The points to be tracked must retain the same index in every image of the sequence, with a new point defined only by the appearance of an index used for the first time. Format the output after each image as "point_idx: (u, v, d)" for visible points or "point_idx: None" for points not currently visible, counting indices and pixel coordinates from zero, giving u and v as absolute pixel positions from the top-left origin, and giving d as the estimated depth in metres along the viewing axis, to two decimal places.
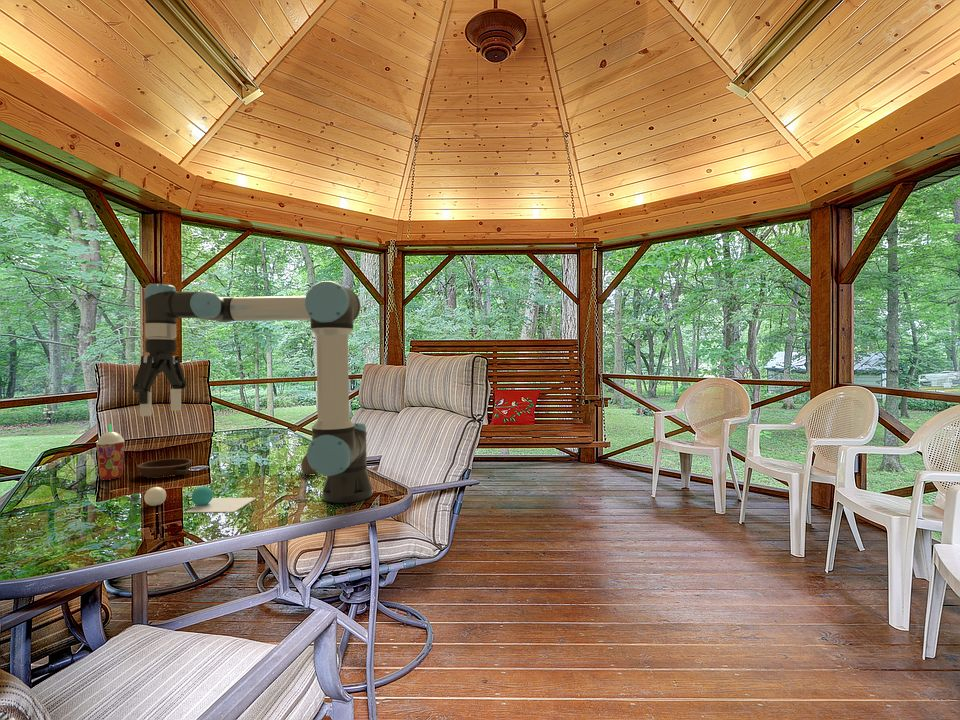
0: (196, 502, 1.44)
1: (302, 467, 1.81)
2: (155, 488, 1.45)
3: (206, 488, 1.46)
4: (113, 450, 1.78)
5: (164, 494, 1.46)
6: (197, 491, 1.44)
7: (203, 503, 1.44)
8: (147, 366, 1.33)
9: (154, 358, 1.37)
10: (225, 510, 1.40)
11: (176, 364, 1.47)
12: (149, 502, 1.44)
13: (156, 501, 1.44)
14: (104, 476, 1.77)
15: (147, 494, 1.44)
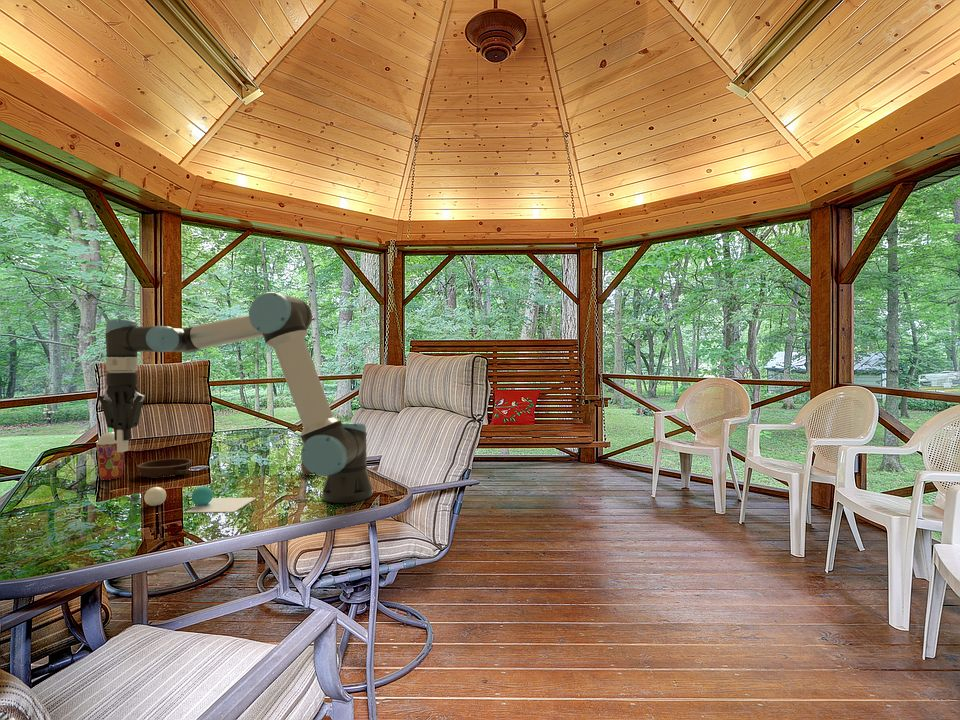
0: (196, 502, 1.44)
1: (302, 467, 1.81)
2: (155, 488, 1.45)
3: (206, 488, 1.46)
4: (113, 450, 1.78)
5: (164, 494, 1.46)
6: (197, 491, 1.44)
7: (203, 503, 1.44)
8: (141, 405, 1.47)
9: None
10: (225, 510, 1.40)
11: (110, 401, 1.47)
12: (149, 502, 1.44)
13: (156, 501, 1.44)
14: (104, 476, 1.77)
15: (147, 494, 1.44)
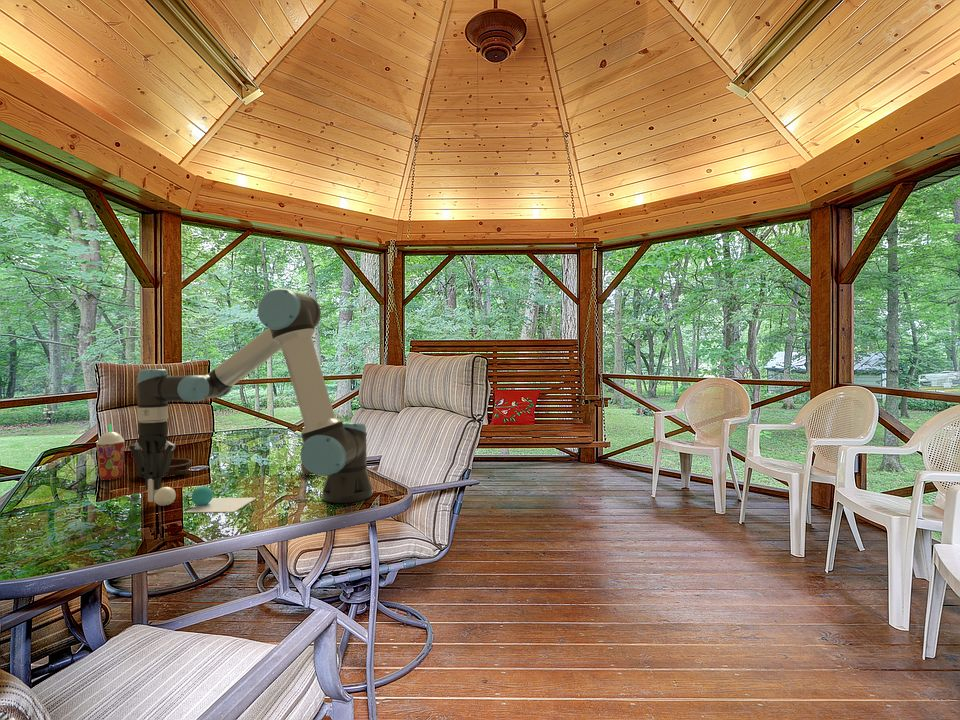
0: (196, 502, 1.44)
1: (302, 467, 1.81)
2: (169, 490, 1.45)
3: (206, 488, 1.46)
4: (113, 450, 1.78)
5: (173, 499, 1.46)
6: (197, 491, 1.44)
7: (203, 503, 1.44)
8: (172, 454, 1.47)
9: None
10: (225, 510, 1.40)
11: (140, 450, 1.47)
12: (157, 501, 1.44)
13: (163, 503, 1.44)
14: (104, 476, 1.77)
15: (159, 493, 1.44)
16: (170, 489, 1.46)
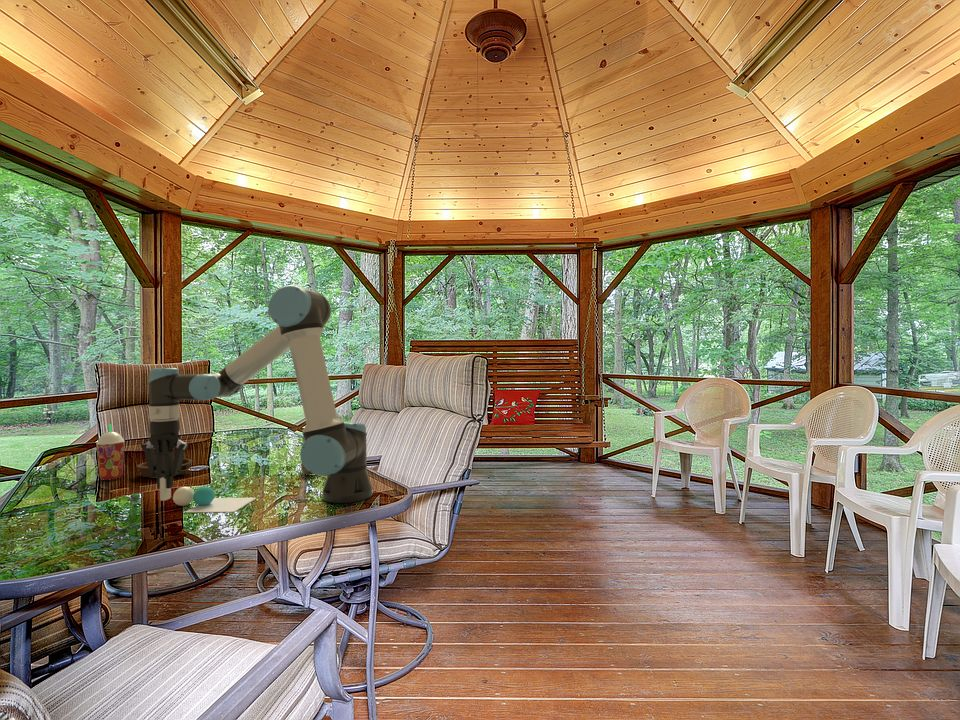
0: (197, 502, 1.44)
1: (302, 467, 1.81)
2: (186, 504, 1.45)
3: (209, 489, 1.46)
4: (113, 450, 1.78)
5: None
6: (199, 491, 1.44)
7: (204, 504, 1.44)
8: (183, 452, 1.47)
9: (179, 440, 1.47)
10: (225, 510, 1.40)
11: (152, 449, 1.47)
12: (176, 495, 1.44)
13: (173, 499, 1.44)
14: (104, 476, 1.77)
15: (183, 499, 1.44)
16: None
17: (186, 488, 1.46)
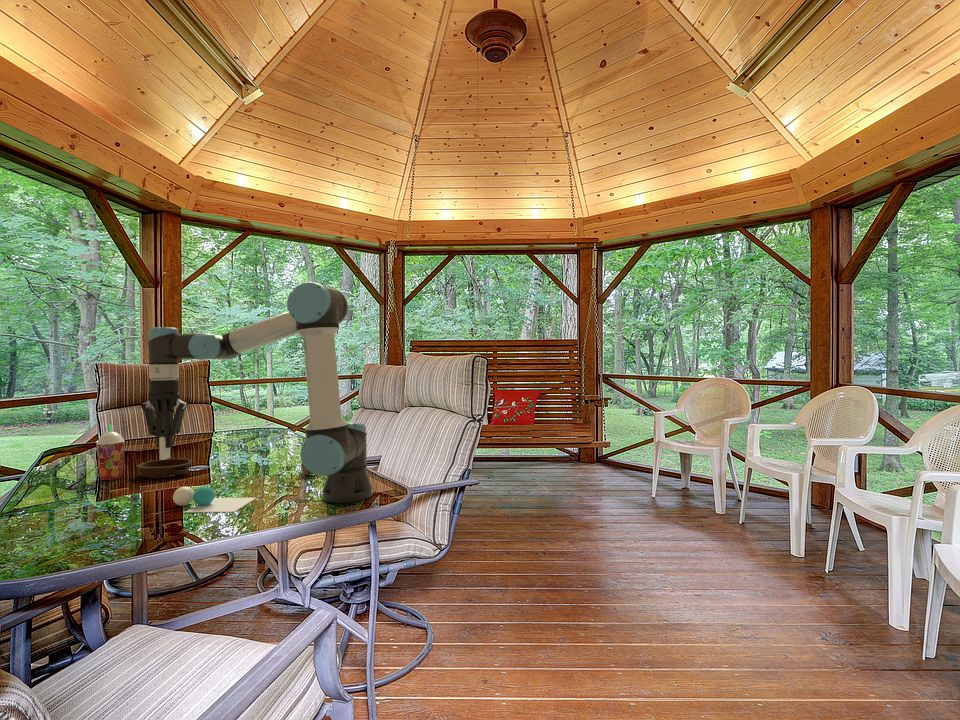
0: (197, 502, 1.44)
1: (302, 467, 1.81)
2: (186, 504, 1.45)
3: (209, 489, 1.46)
4: (113, 450, 1.78)
5: None
6: (199, 491, 1.44)
7: (204, 504, 1.44)
8: (183, 412, 1.47)
9: None
10: (225, 510, 1.40)
11: (152, 408, 1.47)
12: (176, 495, 1.44)
13: (173, 499, 1.44)
14: (104, 476, 1.77)
15: (183, 499, 1.44)
16: None
17: (186, 488, 1.46)
